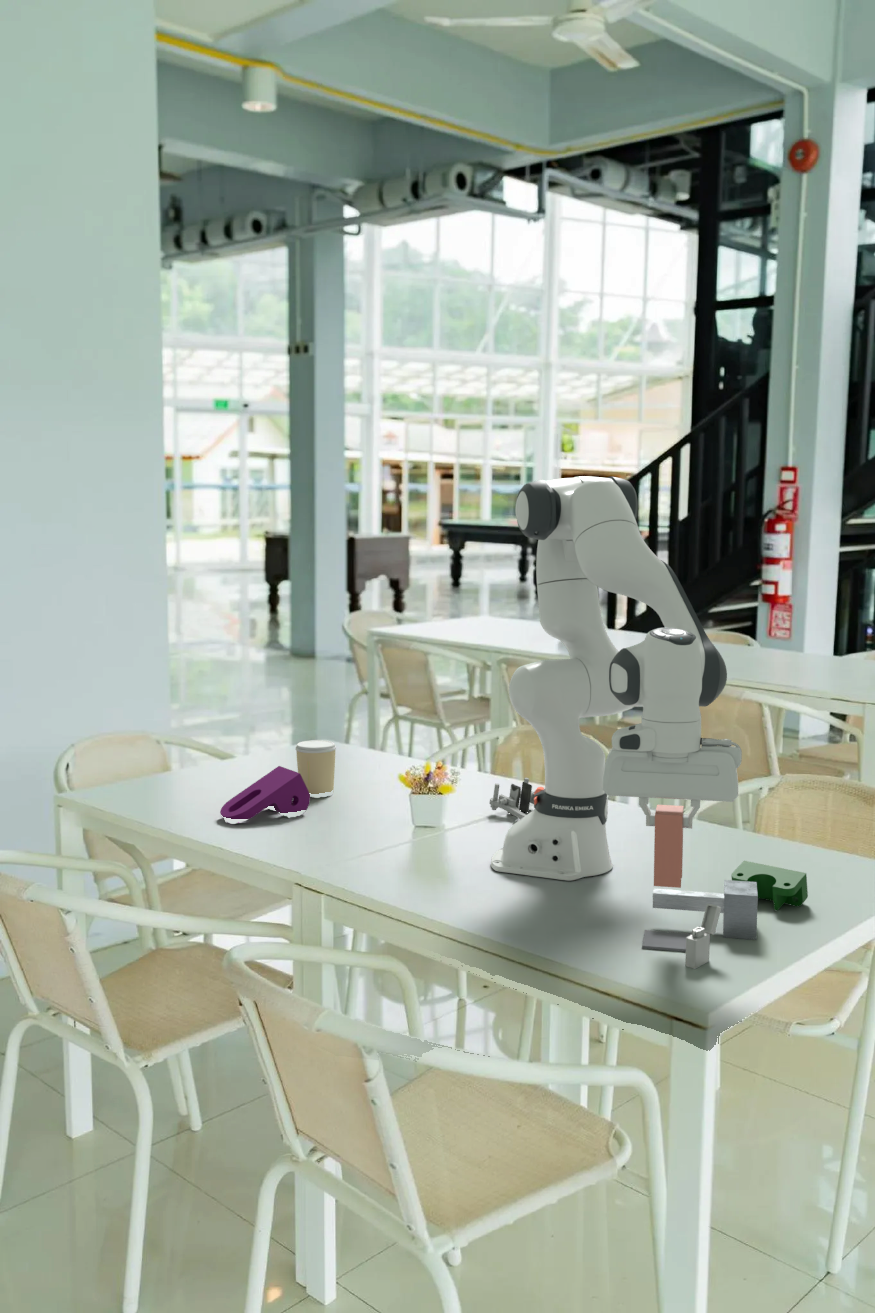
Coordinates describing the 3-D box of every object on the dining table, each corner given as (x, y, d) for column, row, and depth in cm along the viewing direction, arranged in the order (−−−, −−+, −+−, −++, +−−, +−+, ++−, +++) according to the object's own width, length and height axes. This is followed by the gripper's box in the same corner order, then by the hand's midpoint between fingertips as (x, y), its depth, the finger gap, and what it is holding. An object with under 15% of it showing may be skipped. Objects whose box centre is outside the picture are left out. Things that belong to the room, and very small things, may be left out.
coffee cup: (320, 787, 283) (319, 738, 282) (344, 794, 277) (344, 743, 275) (288, 794, 277) (287, 743, 276) (312, 801, 270) (311, 749, 269)
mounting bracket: (249, 852, 251) (315, 805, 260) (232, 820, 248) (300, 773, 256) (229, 842, 259) (294, 796, 267) (213, 811, 256) (279, 765, 264)
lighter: (695, 969, 172) (696, 916, 171) (684, 966, 174) (686, 913, 172) (719, 955, 178) (721, 903, 176) (709, 952, 179) (711, 901, 178)
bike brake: (481, 811, 258) (549, 844, 244) (485, 782, 256) (553, 813, 242) (524, 802, 267) (592, 833, 253) (528, 773, 266) (596, 803, 252)
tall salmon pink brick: (653, 886, 179) (654, 814, 178) (655, 873, 185) (657, 804, 184) (680, 887, 178) (682, 815, 177) (682, 875, 184) (683, 806, 183)
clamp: (743, 925, 202) (720, 878, 202) (758, 908, 207) (735, 862, 206) (804, 915, 194) (779, 866, 194) (818, 898, 198) (794, 849, 198)
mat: (642, 948, 180) (642, 945, 180) (644, 932, 187) (644, 929, 187) (689, 952, 179) (689, 949, 179) (690, 935, 186) (690, 933, 185)
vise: (651, 931, 187) (652, 888, 187) (653, 916, 194) (654, 875, 193) (756, 939, 184) (757, 896, 183) (755, 924, 190) (756, 882, 190)
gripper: (741, 735, 180) (739, 825, 181) (605, 730, 184) (604, 817, 186) (742, 743, 173) (740, 836, 175) (601, 738, 178) (600, 828, 180)
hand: (669, 826), depth 181 cm, fingers closed on tall salmon pink brick, 4 cm apart
